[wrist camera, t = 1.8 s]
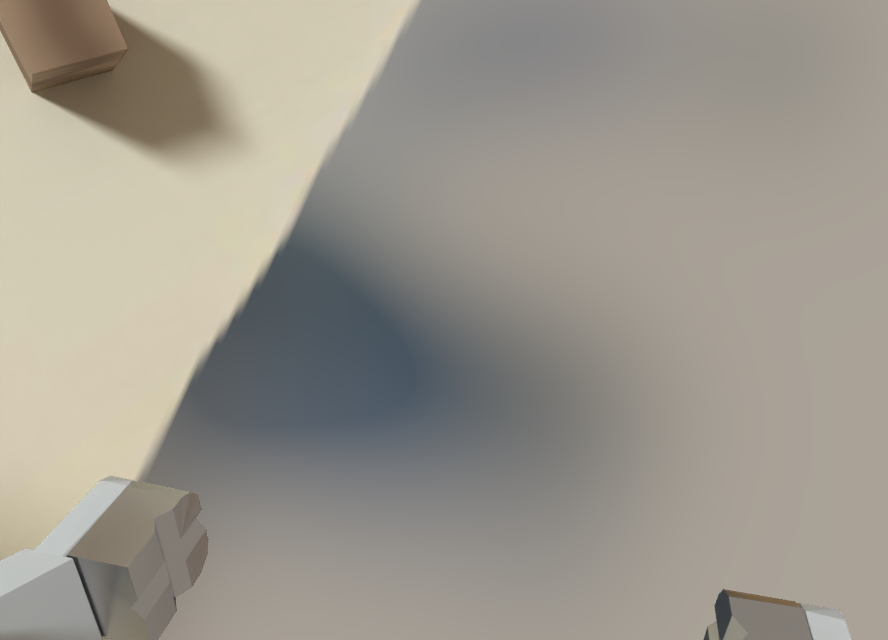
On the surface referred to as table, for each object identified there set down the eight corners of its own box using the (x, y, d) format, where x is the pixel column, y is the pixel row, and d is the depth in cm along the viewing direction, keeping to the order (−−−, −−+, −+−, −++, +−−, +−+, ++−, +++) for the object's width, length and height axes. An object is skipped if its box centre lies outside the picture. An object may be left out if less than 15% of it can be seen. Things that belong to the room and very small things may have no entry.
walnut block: (31, 92, 42) (32, 73, 35) (-12, 7, 40) (-20, -30, 33) (112, 69, 44) (128, 48, 37) (75, -13, 42) (84, -51, 35)
